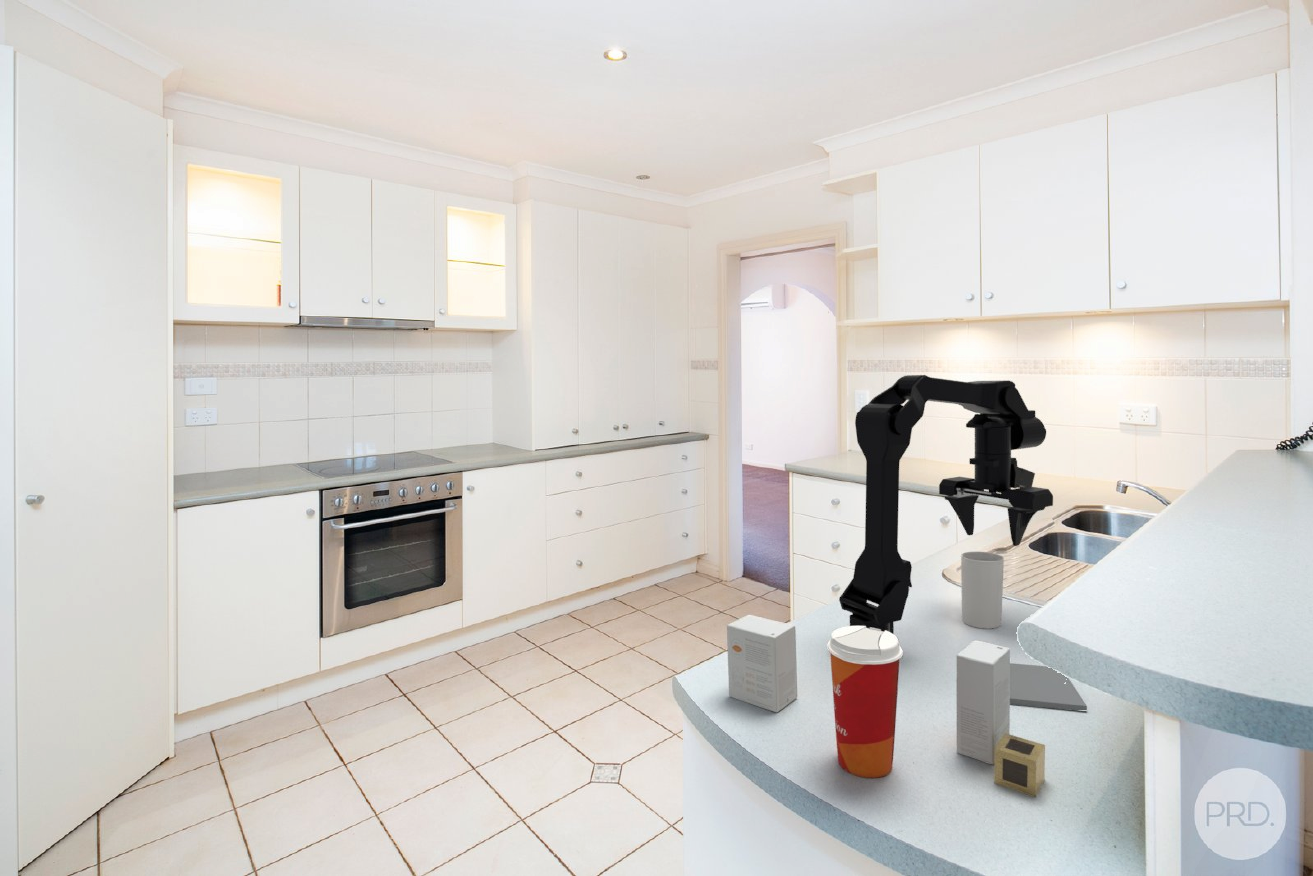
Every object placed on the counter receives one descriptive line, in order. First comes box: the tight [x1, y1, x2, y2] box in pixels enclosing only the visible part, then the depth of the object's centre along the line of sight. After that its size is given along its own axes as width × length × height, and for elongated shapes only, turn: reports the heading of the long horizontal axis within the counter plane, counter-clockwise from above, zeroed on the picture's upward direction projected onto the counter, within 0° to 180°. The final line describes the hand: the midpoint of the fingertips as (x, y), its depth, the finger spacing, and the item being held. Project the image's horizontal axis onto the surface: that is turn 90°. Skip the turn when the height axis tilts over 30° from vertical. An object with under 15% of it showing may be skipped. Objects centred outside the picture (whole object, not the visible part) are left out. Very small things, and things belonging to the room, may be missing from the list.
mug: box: [960, 551, 1005, 630], centre depth 120 cm, size 10×7×12 cm, turn 162°
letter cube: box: [993, 733, 1046, 798], centre depth 73 cm, size 4×4×4 cm
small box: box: [726, 614, 798, 713], centre depth 94 cm, size 8×6×10 cm
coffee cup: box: [826, 625, 904, 779], centre depth 77 cm, size 8×8×15 cm
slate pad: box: [1010, 662, 1088, 711], centre depth 95 cm, size 12×12×1 cm
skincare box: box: [956, 639, 1011, 765], centre depth 79 cm, size 6×4×12 cm
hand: (992, 540), depth 119 cm, fingers open, 9 cm apart
